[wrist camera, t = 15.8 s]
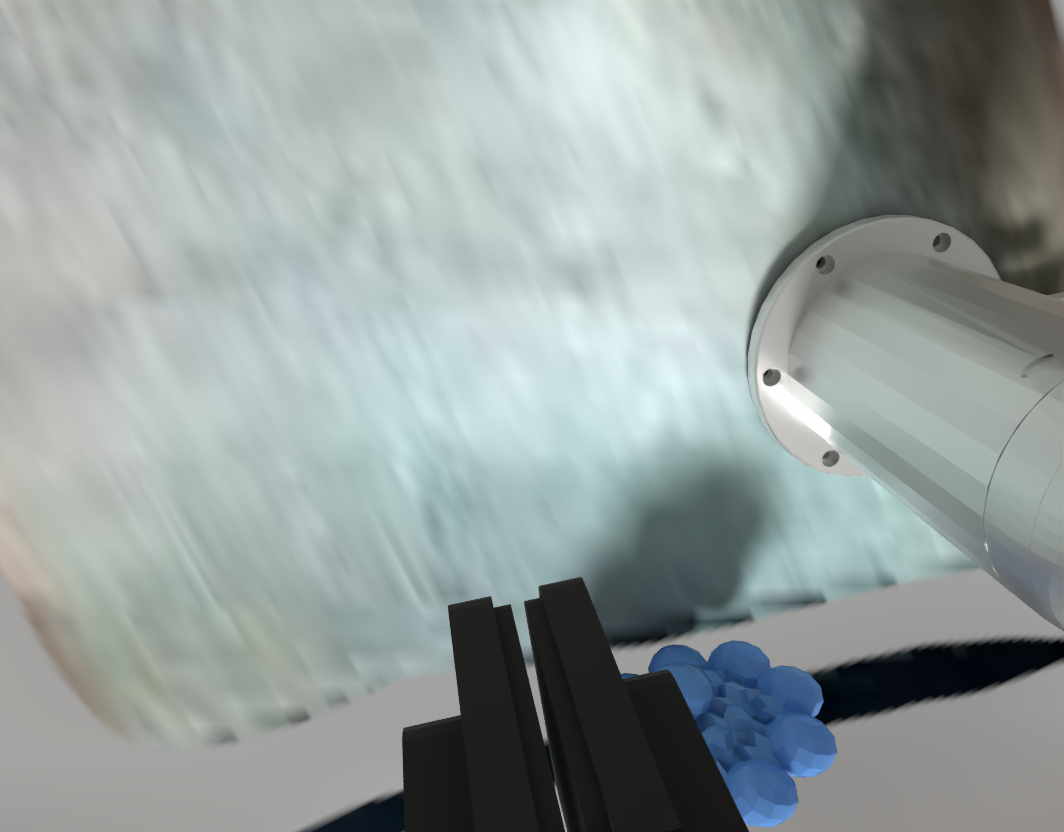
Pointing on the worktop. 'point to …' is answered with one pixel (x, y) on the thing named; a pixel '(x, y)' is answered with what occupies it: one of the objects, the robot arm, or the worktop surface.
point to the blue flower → (753, 723)
